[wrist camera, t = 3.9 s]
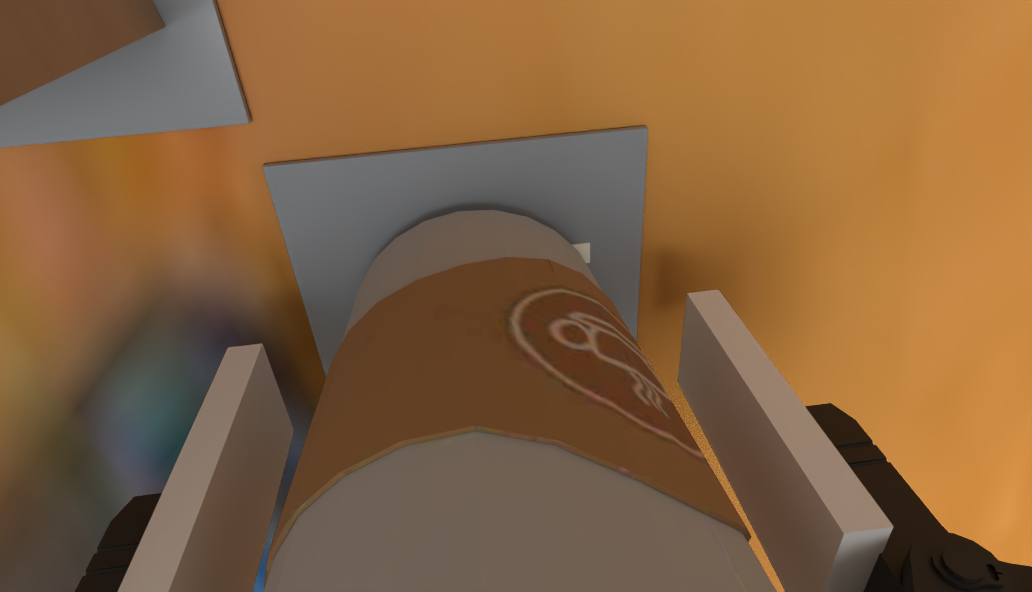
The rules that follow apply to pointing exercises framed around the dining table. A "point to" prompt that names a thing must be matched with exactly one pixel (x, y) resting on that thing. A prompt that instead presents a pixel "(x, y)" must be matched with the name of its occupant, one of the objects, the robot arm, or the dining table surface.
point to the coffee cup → (499, 436)
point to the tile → (460, 209)
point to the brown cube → (64, 37)
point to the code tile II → (139, 86)
